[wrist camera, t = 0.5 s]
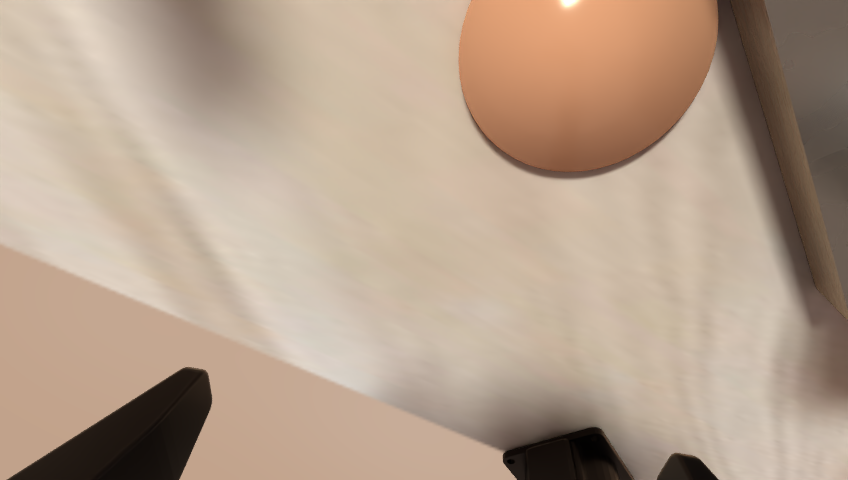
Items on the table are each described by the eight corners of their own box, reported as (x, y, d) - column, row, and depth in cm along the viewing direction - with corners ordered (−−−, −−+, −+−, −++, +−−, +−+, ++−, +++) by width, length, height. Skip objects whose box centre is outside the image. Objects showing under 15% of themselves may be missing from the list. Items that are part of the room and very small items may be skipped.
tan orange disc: (742, 95, 18) (749, 100, 17) (524, 200, 21) (525, 207, 21) (660, -161, 14) (667, -165, 14) (414, 11, 18) (412, 13, 17)
